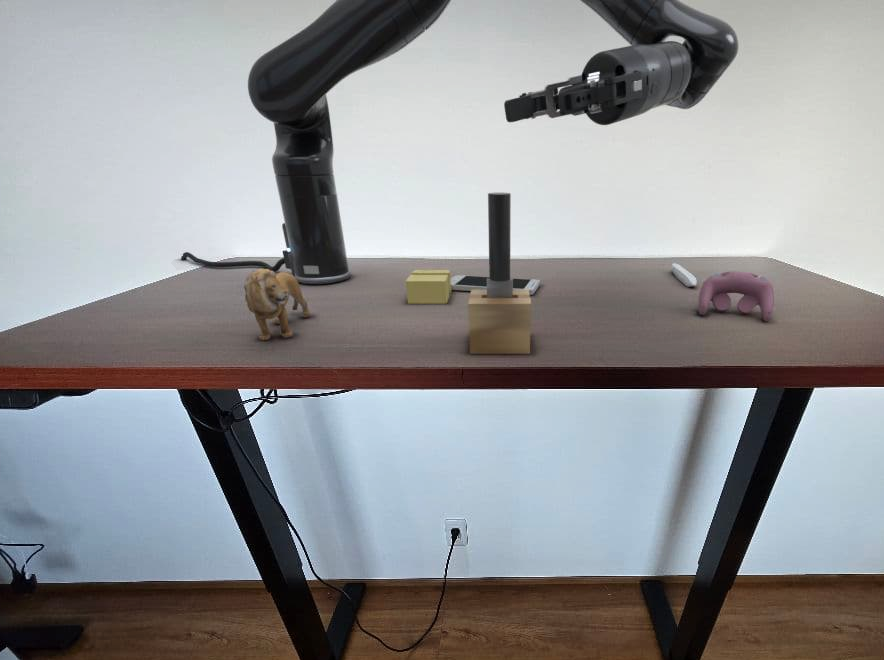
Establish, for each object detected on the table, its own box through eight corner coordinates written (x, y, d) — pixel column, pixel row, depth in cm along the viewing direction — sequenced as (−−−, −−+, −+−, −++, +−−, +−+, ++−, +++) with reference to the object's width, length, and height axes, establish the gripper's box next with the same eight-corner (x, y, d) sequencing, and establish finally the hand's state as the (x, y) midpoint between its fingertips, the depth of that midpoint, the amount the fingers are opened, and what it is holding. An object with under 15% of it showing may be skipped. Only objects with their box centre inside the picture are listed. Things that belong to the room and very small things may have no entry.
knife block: (470, 353, 56) (468, 303, 53) (473, 336, 61) (471, 289, 58) (529, 353, 56) (531, 303, 53) (527, 336, 61) (528, 289, 58)
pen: (675, 270, 94) (676, 261, 94) (697, 289, 82) (699, 279, 81) (667, 270, 94) (668, 261, 94) (688, 288, 82) (690, 279, 81)
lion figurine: (298, 347, 58) (281, 271, 53) (250, 350, 57) (229, 274, 52) (313, 311, 70) (301, 248, 66) (274, 313, 69) (259, 249, 65)
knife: (487, 348, 58) (484, 194, 50) (488, 341, 60) (485, 192, 52) (512, 348, 58) (513, 194, 50) (512, 341, 60) (513, 192, 52)
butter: (407, 303, 74) (405, 281, 72) (415, 291, 80) (413, 270, 79) (446, 303, 74) (445, 281, 72) (451, 291, 81) (450, 270, 79)
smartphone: (456, 279, 87) (455, 274, 87) (539, 284, 84) (540, 279, 84) (442, 289, 81) (442, 283, 80) (532, 295, 78) (532, 289, 77)
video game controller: (766, 326, 70) (774, 277, 69) (773, 320, 65) (782, 269, 65) (694, 318, 72) (702, 272, 72) (697, 313, 68) (705, 264, 68)
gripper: (579, 57, 62) (484, 76, 55) (677, 34, 53) (579, 53, 45) (584, 123, 66) (497, 149, 59) (676, 113, 57) (586, 143, 49)
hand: (532, 108), depth 52 cm, fingers open, 8 cm apart
